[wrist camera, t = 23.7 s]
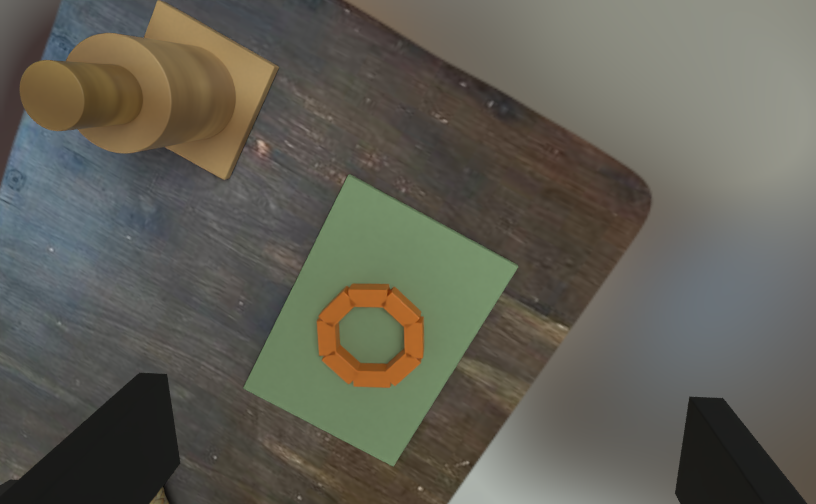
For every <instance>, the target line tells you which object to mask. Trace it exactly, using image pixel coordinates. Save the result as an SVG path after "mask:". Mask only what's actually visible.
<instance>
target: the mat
mask: <svg viewBox="0 0 816 504" xmlns="http://www.w3.org/2000/svg"><path fill="white" fill-rule="evenodd" d="M517 268H518V265H517V264H515V263H513V262H511V261H510V260H508V259H506V258H504V257H502V256H500V255H498V254H497V253H495V252H493V251H491V250H489V249H487V248H486V247H484V246H482V245H480V244H478V243H476V242H474V241H473V240H471V239H469V238H467V237H465V236H463V235H461V234H460V233H458V232H456V231H454V230H452V229H450V228H449V227H447V226H445V225H443V224H441V223H439V222H437V221H436V220H434V219H432V218H430V217H428V216H426V215H424V214H423V213H421V212H419V211H417V210H415V209H413V208H412V207H410V206H408V205H406V204H404V203H402V202H400V201H399V200H397V199H395V198H393V197H391V196H389V195H387V194H386V193H384V192H382V191H380V190H378V189H376V188H375V187H373V186H371V185H369V184H367V183H365V182H363V181H362V180H360V179H358V178H356V177H354V176H352V175H351V174H349V175H348V176H347V178H346V180H345V183H344V185H343V187H342V189H341V191H340V193H339V195H338V197H337V199H336V201H335V203H334V205H333V207H332V209H331V211H330V213H329V215H328V217H327V219H326V221H325V223H324V225H323V227H322V229H321V231H320V233H319V235H318V237H317V239H316V241H315V243H314V245H313V247H312V249H311V252H310V254H309V256H308V258H307V260H306V262H305V264H304V266H303V268H302V270H301V272H300V274H299V276H298V278H297V280H296V282H295V284H294V286H293V288H292V290H291V292H290V294H289V296H288V298H287V300H286V302H285V304H284V306H283V308H282V310H281V312H280V314H279V316H278V318H277V321H276V323H275V325H274V327H273V329H272V331H271V333H270V335H269V337H268V339H267V341H266V343H265V345H264V347H263V349H262V351H261V353H260V355H259V357H258V359H257V361H256V363H255V365H254V367H253V369H252V371H251V373H250V375H249V377H248V379H247V381H246V383H245V385H244V387H243V389H245V390H247V391H249V392H251V393H253V394H255V395H257V396H259V397H260V398H262V399H264V400H266V401H268V402H270V403H272V404H274V405H276V406H278V407H280V408H282V409H284V410H285V411H287V412H289V413H291V414H293V415H295V416H297V417H299V418H301V419H303V420H305V421H307V422H309V423H310V424H312V425H314V426H316V427H318V428H320V429H322V430H324V431H326V432H328V433H330V434H332V435H334V436H336V437H337V438H339V439H341V440H343V441H345V442H347V443H349V444H351V445H353V446H355V447H357V448H359V449H361V450H362V451H364V452H366V453H368V454H370V455H372V456H374V457H376V458H378V459H380V460H382V461H384V462H386V463H387V464H389V465H391V466H394V465H395V463H396V461H397V460H398V458H399V457H400V455H401V453H402V452H403V450H404V449H405V447H406V445H407V444H408V442H409V441H410V439H411V437H412V436H413V434H414V433H415V431H416V430H417V428H418V426H419V425H420V423H421V422H422V420H423V418H424V417H425V415H426V414H427V412H428V410H429V409H430V407H431V406H432V404H433V402H434V401H435V399H436V398H437V396H438V394H439V393H440V391H441V390H442V388H443V386H444V385H445V383H446V382H447V380H448V378H449V377H450V375H451V374H452V372H453V370H454V369H455V367H456V366H457V364H458V362H459V361H460V359H461V358H462V356H463V354H464V353H465V351H466V350H467V348H468V346H469V345H470V343H471V342H472V340H473V338H474V337H475V335H476V334H477V332H478V330H479V329H480V327H481V326H482V324H483V322H484V321H485V319H486V318H487V316H488V314H489V313H490V311H491V310H492V308H493V307H494V305H495V303H496V302H497V300H498V299H499V297H500V295H501V294H502V292H503V291H504V289H505V287H506V286H507V284H508V283H509V281H510V279H511V278H512V276H513V275H514V273H515V271H516V270H517ZM351 284H389V285H390V290H391V289H392V288H393V287H396V288H397V289H398V290H399V291H400V292H401V293H402V294H403V295H404V296H405V297H406V298H407V299H409V300H410V301H411V302H412V303H413V304H414V305H415V306H416V307H417V308H418V309H419V310H420V311H421V316H423V317H424V355H423V358H422V360H421V364H419V365H418V366H417V367H416V368H415V369H414V370H413V371H412V372H411V373H409V374H408V375H407V376H406V377H405V378H404V379H403V380H402V381H401V382H399V383H398V384H397V385H396V386H394V385H393V384H392V383H391V387H390V388H379V387H354V386H353V381H352V382H351V383H350V384H347V383H346V382H345V381H344V380H343V379H342V378H341V377H340V376H338V375H337V374H336V373H335V372H334V371H333V370H332V369H331V368H330V367H328V366H327V365H326V364H325V363H324V362H323V361H322V358H323V356H319V347H318V333H317V320H318V318H319V317H318V316H319V314H320V313H321V311H322V310H323V309H324V308H325V307H326V306H327V305H328V304H329V303H330V302H331V301H332V300H333V299H334V298H335V297H336V296H337V295H338V294H339V293H340V292H341V291H342V290H343V289H344V288H345V287H346V286H348V287H349V288H350V286H351ZM339 332H340V345H341V346H342V347H343V348H345V349H346V350H347V351H348V352H349V353H350V354H351V355H352V356H353V357H354V358H356V359H357V360H358V361H359V362H360V363H381V364H388V363H389V362H390V361H391V360H392V359H393V358H394V357H395V356H396V355H397V354H398V353H400V352H401V351H402V350H403V349H404V327H403V326H402V325H401V324H400V323H399V322H398V321H397V320H396V319H395V318H394V317H393V316H392V315H390V314H389V313H388V312H387V311H386V310H385V309H384V308H383V307H354V308H352V309H351V310H350V311H349V312H348V313H347V314H346V315H345V316H344V317H343V318H342V319H341V320H340V321H339Z"/></svg>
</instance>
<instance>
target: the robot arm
mask: <svg viewBox="0 0 816 504" xmlns="http://www.w3.org/2000/svg"><path fill="white" fill-rule="evenodd" d="M179 464H180V459H179V452H178V445H177V438H176V432H175V425H174V418H173V411H172V405H171V398H170V391H169V384H168V377H167V374H154V373H139V374H138V375H136V376H135V377H134V378H133V379H132V380H131V381H130V382H128V383H127V384H126V385H125V386H124V387H123V388H122V389H121V390H119V391H118V392H117V393H116V394H115V395H114V396H113V397H112V398H110V399H109V400H108V401H107V402H106V403H105V404H104V405H103V406H101V407H100V408H99V409H98V410H97V411H96V412H95V413H94V414H92V415H91V416H90V417H89V418H88V419H87V420H86V421H84V422H83V423H82V424H81V425H80V426H79V427H78V428H77V429H75V430H74V431H73V432H72V433H71V434H70V435H69V436H68V437H66V438H65V439H64V440H63V441H62V442H61V443H60V444H59V445H57V446H56V447H55V448H54V449H53V450H52V451H51V452H49V453H48V454H47V455H46V456H45V457H44V458H43V459H42V460H40V461H39V462H38V463H37V464H36V465H35V466H34V467H33V468H31V469H30V470H29V471H28V472H27V473H26V474H25V475H24V476H22V477H21V478H20V479H19V480H9V481H7V482H5V483H4V484H2V485H0V504H150V503H151V501H152V500H153V499H154V497H155V496H156V495H157V493H158V492H159V491H160V489H161V488H162V487H163V486H164V484H165V483H166V482H167V480H168V479H169V478H170V476H171V475H172V474H173V472H174V471H175V470H176V468H177V467H178V466H179ZM675 494H676V496H677V498H678V500H679V502H680V504H807V503H806V502H805V500H804V499H803V498H802V497H801V495H800V494H799V493H798V492H797V490H796V489H795V488H794V486H793V485H792V484H791V483H790V481H789V480H788V479H787V478H786V476H785V475H784V474H783V473H782V471H781V470H780V469H779V468H778V466H777V465H776V464H775V463H774V461H773V460H772V459H771V458H770V456H769V455H768V454H767V453H766V451H765V450H764V449H763V448H762V446H761V445H760V444H759V443H758V441H757V440H756V439H755V438H754V436H753V435H752V434H751V433H750V431H749V430H748V429H747V428H746V426H745V425H744V424H743V423H742V421H741V420H740V419H739V418H738V416H737V415H736V414H735V413H734V411H733V410H732V409H731V408H730V406H729V405H728V404H727V402H726V401H725V400H724V399H723V398H706V397H689V403H688V410H687V417H686V423H685V430H684V437H683V443H682V450H681V457H680V464H679V470H678V477H677V484H676V491H675Z"/></svg>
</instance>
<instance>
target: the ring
mask: <svg viewBox="0 0 816 504" xmlns="http://www.w3.org/2000/svg"><path fill="white" fill-rule="evenodd" d="M354 307H383V308H384V309H385V310H386V311H387V312H388V313H389V314H390V315H392V316H393V317H394V318H395V319H396V320H397V321H398V322H399V323H400V324H401V325H402V326H403V327H404V349H403V350H402V351H401V352H400V353H398V354H397V355H396V356H395V357H394V358H393V359H392V360H391V361H390V362H389V363H388V364H381V363H360V362H359V361H358V360H357V359H356V358H354V357H353V356H352V355H351V354H350V353H349V352H348V351H347V350H346V349H345V348H343V347H342V346H341V345H340V332H339V321H340V320H341V319H342V318H343V317H344V316H345V315H346V314H347V313H348V312H349V311H350V310H351V309H352V308H354ZM318 317H319V318H318V320H317V333H318V347H319V356H323V358H322V361H323V362H324V363H325V364H326V365H327V366H328V367H330V368H331V369H332V370H333V371H334V372H335V373H336V374H337V375H338V376H340V377H341V378H342V379H343V380H344V381H345V382H346V383H347V384H350V383H351V382H352V381H353V386H354V387H379V388H390V387H391V383H392V384H393V385H394V386H396V385H397V384H398V383H399V382H401V381H402V380H403V379H404V378H405V377H406V376H407V375H408V374H409V373H411V372H412V371H413V370H414V369H415V368H416V367H417V366H418V365H419V364H421V360H422V358H423V355H424V317H423V316H421V311H420V310H419V309H418V308H417V307H416V306H415V305H414V304H413V303H412V302H411V301H410V300H409V299H407V298H406V297H405V296H404V295H403V294H402V293H401V292H400V291H399V290H398V289H397V288H396V287H393V288H392V289H391V290H390V285H389V284H351V286H350V288H349V287H348V286H346V287H345V288H344V289H343V290H342V291H341V292H340V293H339V294H338V295H337V296H336V297H335V298H334V299H333V300H332V301H331V302H330V303H329V304H328V305H327V306H326V307H325V308H324V309H323V310H322V311H321V313H320V314H319V316H318Z"/></svg>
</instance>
